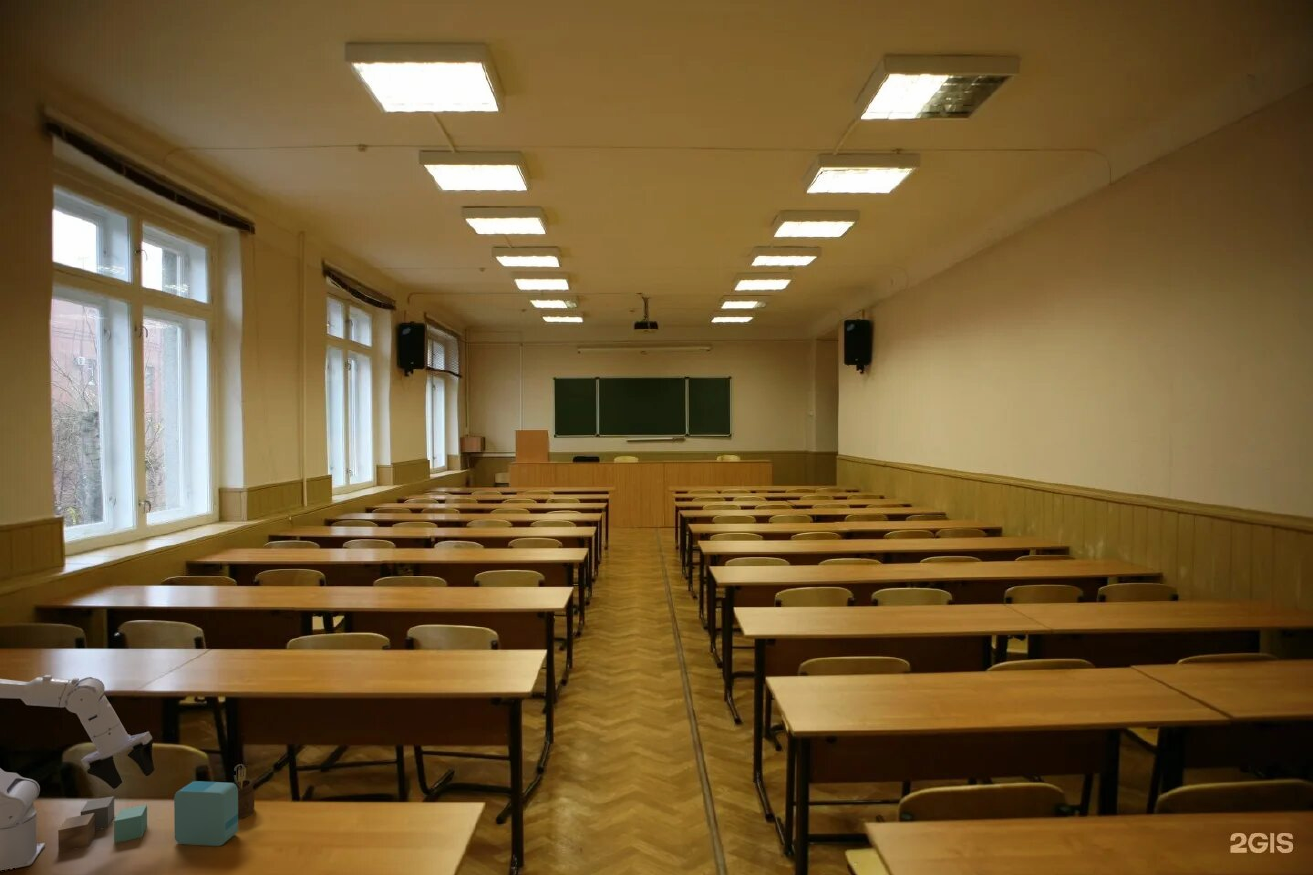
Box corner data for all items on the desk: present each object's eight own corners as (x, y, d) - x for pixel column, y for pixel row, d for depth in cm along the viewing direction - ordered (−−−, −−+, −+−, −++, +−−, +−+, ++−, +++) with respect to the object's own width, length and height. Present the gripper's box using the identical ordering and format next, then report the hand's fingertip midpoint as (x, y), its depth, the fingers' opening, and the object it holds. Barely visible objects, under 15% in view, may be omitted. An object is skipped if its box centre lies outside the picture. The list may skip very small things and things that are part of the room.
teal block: (114, 843, 151) (113, 820, 151) (120, 831, 156) (120, 809, 156) (141, 837, 154) (141, 815, 153) (147, 825, 158) (146, 804, 158)
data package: (238, 834, 154) (238, 782, 154) (224, 846, 150) (224, 793, 150) (189, 832, 155) (189, 780, 155) (174, 844, 151) (173, 790, 151)
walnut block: (58, 852, 148) (58, 830, 148) (66, 840, 152) (66, 818, 152) (87, 846, 150) (87, 824, 150) (94, 834, 155) (94, 812, 155)
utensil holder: (251, 803, 167) (251, 755, 167) (256, 814, 162) (256, 765, 162) (223, 812, 163) (223, 763, 163) (228, 823, 159) (227, 773, 158)
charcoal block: (80, 833, 155) (80, 811, 155) (87, 821, 160) (87, 800, 160) (108, 827, 157) (107, 806, 157) (114, 816, 162) (114, 795, 162)
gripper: (147, 707, 157) (175, 756, 159) (86, 731, 156) (115, 779, 158) (127, 724, 150) (157, 775, 152) (63, 749, 149) (93, 800, 151)
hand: (134, 779), depth 155 cm, fingers open, 7 cm apart
